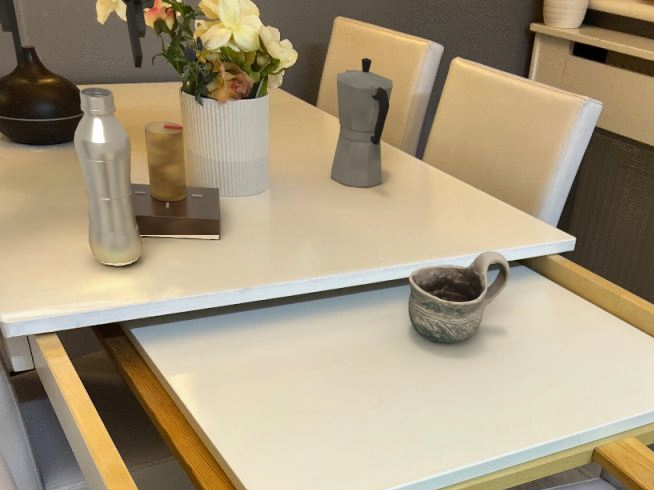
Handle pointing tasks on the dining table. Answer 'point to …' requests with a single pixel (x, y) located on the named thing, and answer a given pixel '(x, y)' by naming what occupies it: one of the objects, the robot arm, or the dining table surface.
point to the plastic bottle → (107, 179)
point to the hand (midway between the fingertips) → (81, 60)
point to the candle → (166, 160)
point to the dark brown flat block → (177, 212)
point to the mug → (454, 297)
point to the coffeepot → (360, 126)
